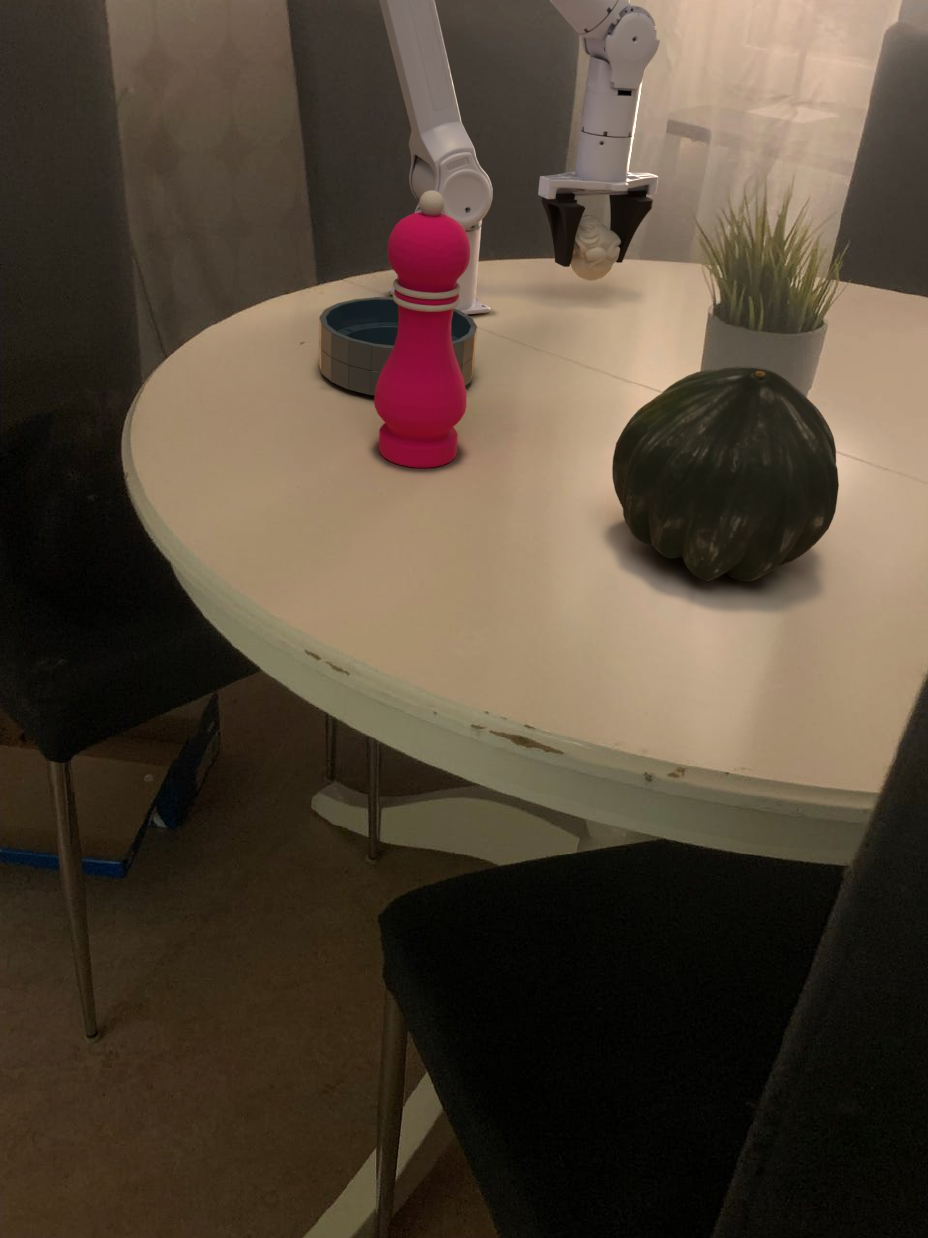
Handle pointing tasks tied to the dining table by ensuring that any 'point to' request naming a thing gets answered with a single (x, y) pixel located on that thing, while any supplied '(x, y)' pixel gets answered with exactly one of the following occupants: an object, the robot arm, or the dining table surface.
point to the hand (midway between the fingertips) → (588, 262)
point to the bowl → (376, 341)
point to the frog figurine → (594, 249)
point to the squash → (728, 473)
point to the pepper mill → (423, 340)
